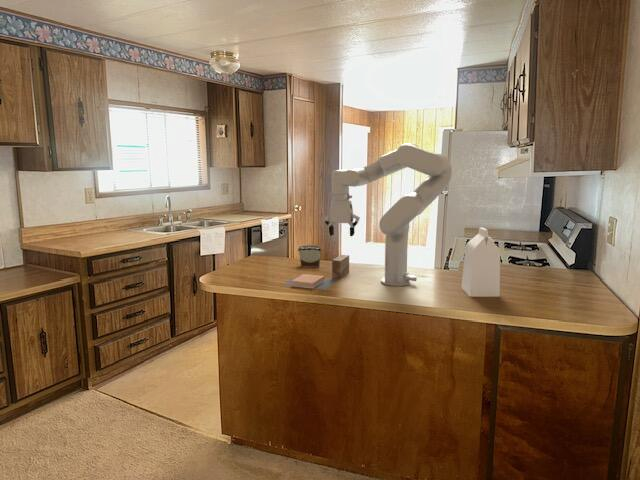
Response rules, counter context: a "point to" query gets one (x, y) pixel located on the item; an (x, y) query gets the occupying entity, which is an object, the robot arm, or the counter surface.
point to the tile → (308, 281)
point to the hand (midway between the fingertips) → (341, 235)
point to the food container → (310, 255)
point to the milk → (481, 266)
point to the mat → (322, 286)
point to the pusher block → (340, 266)
